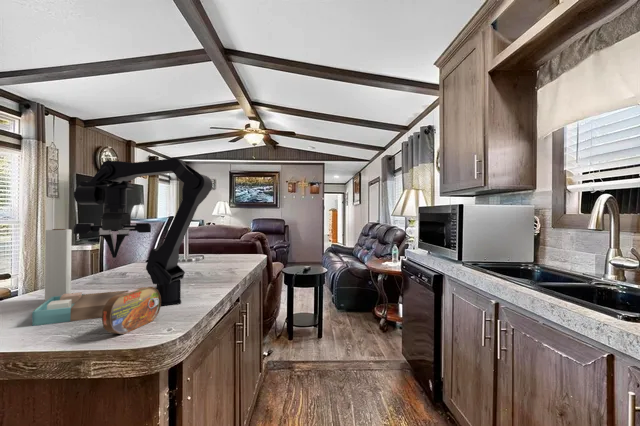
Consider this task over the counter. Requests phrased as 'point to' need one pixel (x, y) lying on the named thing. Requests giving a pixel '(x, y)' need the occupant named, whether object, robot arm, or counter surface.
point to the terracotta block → (71, 297)
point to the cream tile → (59, 304)
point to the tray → (50, 313)
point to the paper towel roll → (57, 262)
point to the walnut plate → (91, 305)
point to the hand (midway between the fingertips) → (114, 257)
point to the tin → (131, 310)
